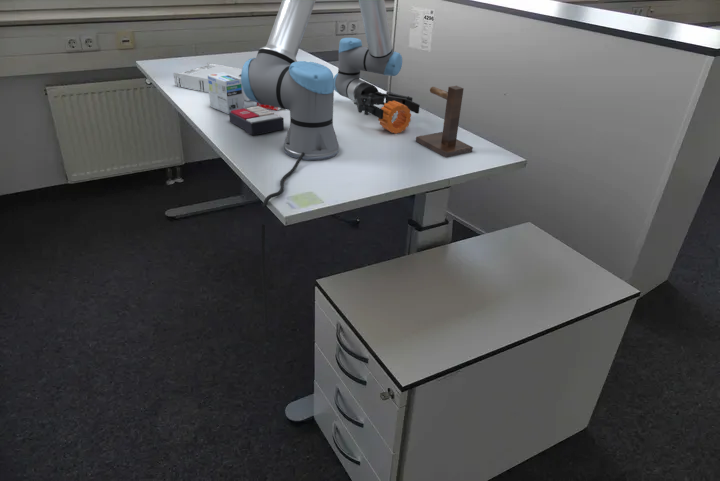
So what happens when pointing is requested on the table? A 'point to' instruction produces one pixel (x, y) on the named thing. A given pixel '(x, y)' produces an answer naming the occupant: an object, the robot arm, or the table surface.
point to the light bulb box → (225, 92)
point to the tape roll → (400, 121)
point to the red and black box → (256, 120)
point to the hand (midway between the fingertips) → (400, 111)
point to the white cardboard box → (204, 77)
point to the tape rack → (447, 126)
